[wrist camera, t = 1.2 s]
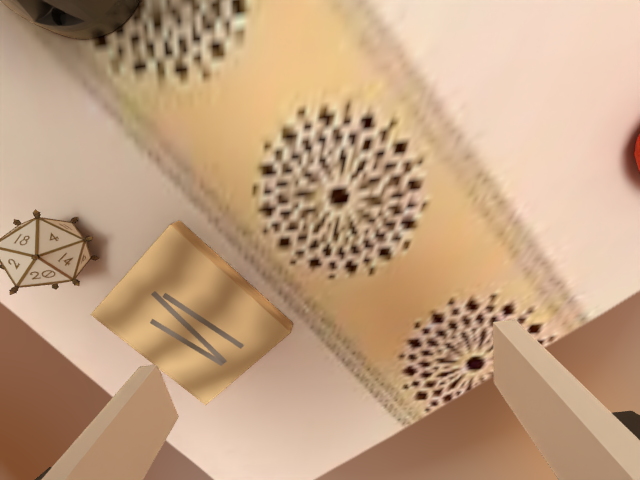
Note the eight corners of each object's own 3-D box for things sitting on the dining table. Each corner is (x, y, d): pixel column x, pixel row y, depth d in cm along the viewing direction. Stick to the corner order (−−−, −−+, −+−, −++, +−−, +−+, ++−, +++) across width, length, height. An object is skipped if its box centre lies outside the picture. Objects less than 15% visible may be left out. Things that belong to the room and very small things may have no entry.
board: (102, 306, 38) (90, 314, 36) (179, 220, 34) (170, 224, 32) (211, 393, 41) (205, 405, 39) (293, 323, 37) (290, 332, 35)
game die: (110, 223, 39) (105, 225, 30) (91, 288, 38) (81, 308, 30) (15, 203, 34) (-22, 198, 25) (-7, 277, 33) (-53, 297, 25)
